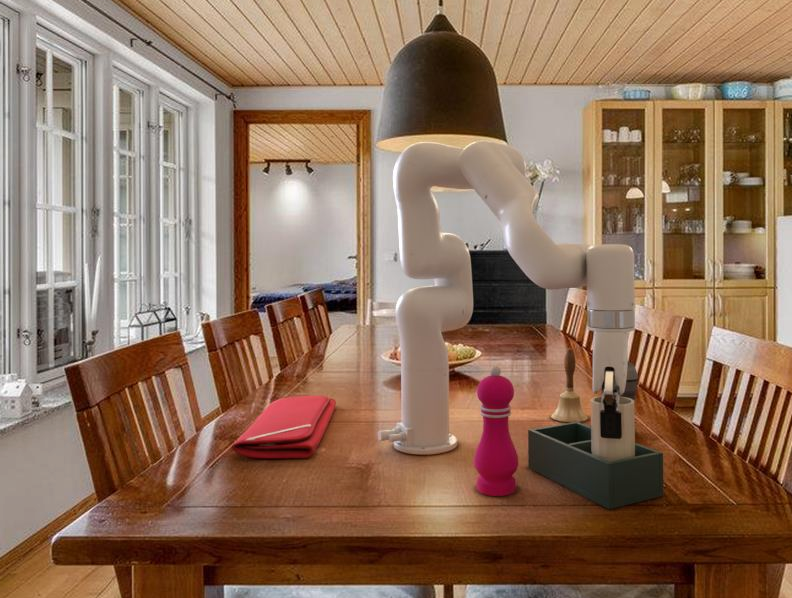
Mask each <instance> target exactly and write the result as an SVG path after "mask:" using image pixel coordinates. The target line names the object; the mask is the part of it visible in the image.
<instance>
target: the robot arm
mask: <svg viewBox="0 0 792 598" xmlns="http://www.w3.org/2000/svg"><path fill="white" fill-rule="evenodd" d="M392 170H393V172H392V187H393V195H394V200H395V204H396V210H397V211H396V212H397V230H398V232H397V234H398V247H399V248H398V250H399V260H400V261H399V263H400V268H401V269H402V272H403V274H404V275H405V276H407V277H408V278H410V279H412V280H434V285H422V286H416V287H412V288H410V289H407V290H406V291H404V292H403V293H402V294H401V295H400V296H399V298H398V300H397V302H396V304H395V309H394V310H395V311H394V312H395V321H396V325H397V331H398V336H399V337H398V338H399V345H400V390H401V392H400V399H401V400H400V404H401V407H400V408H401V409H400V410H401V411H400V412H401V415H400V419H401V421H400V422H396V426H394V427H393V428H392V429H384V430H379V431H377V440H378V441H379V442H384V441H389V442H390V443H393V447H394V449H395V450H397V451H398V452H401V453H404V454H409V455H417V456H419V455H421V456H426V455H427V456H428V455H429V456H430V455H438V454H443V453H447V452H450V451H453V450H454V449H456V448H457V446H458V439H457V437H456V436H455V435H453V434H451V433H450V365H449V364H450V363H449V362H450V361H449V360H450V359H449V352H448V347H447V345H446V342H445V341H444V337H443V334H442V333H444V332H450V331H457V330H460V329H462V328H464V327H465V326H466V325H467V324H469V322H470V320H471V318H472V315H473V313H474V291H473V290H474V289H473V274H472V259H471V254H470V251H469V248H468V246H467V244H466V242H465V241H464V240H463V239H462V238H461V237H460V236H459V235H457V234H455V233H451V232H442V225H441V213H440V207H439V205H438V202H437V199H436V198H435V196H434V194H433V192H432V190H431V189H432V188H433V187H437V188H446V189H455V190H474V191H475V193H476V194H477V195H478V196H479V198H480V199H481V200H482V201H483V202H484V203H485V205H486V206H487V208H489V210H490V211H491V212H492V213H493V215H494V216H495V217H496V218H497V220H498V221H499V223H500V232H501V236H502V239H503V244H504V246H505V248H506V250H507V252H508V255H510V257H511V258H512V259H513V261H514V262H515V263H516V265H517V266H518V267H519V269H520V270H521V271H522V272H523V273H524V274H525V276H526V277H527V278H528V279H529V280H530V281H532V282H533V283H534V284H535V285H536V286H538V287H540V288H542V289H544V290H551V291H552V290H561V289H563V290H564V289H575V288H584V287H586V313H587V314H586V317H587V318H586V319H587V320H586V322H587V323H586V326H587V330H588V331H592V332H593V335H592V336H593V337H592V338H593V339H592V382H591V383H592V385H591V386H592V388H591V392H592V393H593V394H594V395H597V394H598V392H600V394H601V395H600V396H601V411H600V435H601V437H602V438H612V439H621V437H622V418H621V412H620V396H621V397H623V393H624V391H625V386H626V379H627V366H628V361H629V359H628V357H629V354H628V353H629V348H628V347H629V344H628V343H629V341H628V340H629V339H628V335H629V334H628V332H634V331H636V302H635V301H636V298H635V297H636V296H635V295H636V294H635V289H636V288H635V253H634V250H633V248H632V246H630V245H629V244H624V243H623V244H621V243H605V244H604V243H602V244H593V245H591V244H581V243H566V242H563V243H562V242H561V243H559V242H557V243H556V242H555V241H554V240H553V239H552V238H551V237H550V235H549V234H548V233H547V232H546V231H545V230H544V229H543V228H542V226H541V225H540V224H539V222H538V220H536V217H535V214H534V210H535V209H536V208H537V205H538V204H539V201H540V200H539V198H540V196H539V192H538V190H537V189H536V188H535V187H534V186H533V185H532V184H531V182H530V181H529V180H528V179H527V178H526V177H525V176H526V172H527V164H526V160H525V157H524V155H523V154H522V153H521V152H520V151H519V150H518V149H517V148H515V147H513V146H512V145H507V144H503V143H498V142H495V141H491V140H490V141H489V140H478V141H477V140H476V141H474V142H471V143H469V144H468V145H466V146H465V147H464V148H463V147H459V146H455V145H448V144H443V143H439V142H434V141H420V142H414V143H413V144H410V145H409V146H407V147H406V148H405V149H403V150H402V151H401V153H400V154H399V155H398V157H397V158H396V161H395V163H394V167H393V169H392ZM613 397H615V398H616V400H615V398H613Z"/></svg>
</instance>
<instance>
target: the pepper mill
mask: <svg viewBox="0 0 792 598" xmlns="http://www.w3.org/2000/svg"><path fill="white" fill-rule="evenodd" d="M501 373H502V370H501V368H500V367H499V366H498V365H493V366H492V367H490V369H489V374H490V375H488V376H485V377H483V378H482V379H481V380H480V381H479V382H478V384H477V388H476V395H477V398H478V400H479V402H480V403H481V405H480V407H479V408H480V412H479V413H480V415H481V416H482V422H483V425H482V433H481V437H480V440H479V443H478V445H477V447H476V450H475V453H474V456H473V466H474V469H475V470H476V472H477V473H478V474H479V475H478V476H477V478H476V489H477V491H478V492H479V493H480V494H482V495H485V496H489V497H504V496H505V497H506V496H508V495H512V494H513V493H514V492H515V491H516V489H517V488H516V486H517V485H516V483H517V482H516V480H517V479H516V478H515V476H514V474H515V473H516V472H517V470H518V469H519V456H518V451H517V450H516V449H517V448H516V447H515V445H514V442H513V439H512V438H511V433H510V430H509V429H510V428H509V427H510V426H509V417H510V416H511V415H512V412H511V409H512V406H511V405H510V403H511V402H512V401H513V399H514V396H515V389H514V385H513V383H512V382H511V380H509V378H507V377H506V376H503V375H501Z"/></svg>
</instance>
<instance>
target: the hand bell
mask: <svg viewBox="0 0 792 598" xmlns="http://www.w3.org/2000/svg"><path fill="white" fill-rule="evenodd" d="M564 355H565V356H564V359H563V366H564V371H565V377H566V379H565V384H566V385H565V391H563V392H561V393H560V395H559V399H558V405H557V407H556V409H555V411H554V412H553V413H552V414H551V416H550V417H551V419H553V420H554V421H556V422H561V423H572V422H580V423H584V422H586V421H588V419H589V417H588V415H587V414H586V413H585V412H584V409H583V408H582V405H581V399H580V398H581V397H580V395H579V394H578V393H576V392H575V391H574V375H575V372H576V371H575V370H576V363H577V362H576V361H577V360H576V356H575V353H574V349H573V348H567V349H566V352H565V354H564Z"/></svg>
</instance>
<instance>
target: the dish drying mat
mask: <svg viewBox="0 0 792 598" xmlns="http://www.w3.org/2000/svg"><path fill="white" fill-rule="evenodd" d="M336 404H337V401H336V399H334V398H331V397H329V396H326V395H295V396H288V397H287V396H286V397H282V398H279V399H276V400H274V401H272V402H271V403H270V404H269V405H268V406H267V407H266V408H265V409H264V410H263V411H262V412H261V414H259V416H258V417H257V418H256V419H255V420H254V421H253V423H252V424H251V425H250V426H249V427H248V428H247V429H246V430H245V432H243V434H241V436H240V437H238V438H237V440H236V441H235V442H234V443H233V444H232V445H231V449H232V451H233V452H235V453H237V454H238V455H240V456H243V457H246V458H247V457H248V458H254V459H308V458H311V457H312V456H313V455H314V453H315V452H316V449H317V448H318V446H319V444H320V443H321V440H322V438H323V436H324V434H325V433H326V429H327V427H328V426H329V423H330V421H331V419H332V416H333V415H334V412H335V408H336Z"/></svg>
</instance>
